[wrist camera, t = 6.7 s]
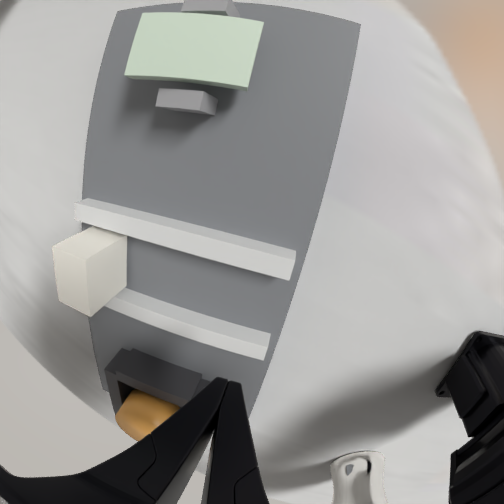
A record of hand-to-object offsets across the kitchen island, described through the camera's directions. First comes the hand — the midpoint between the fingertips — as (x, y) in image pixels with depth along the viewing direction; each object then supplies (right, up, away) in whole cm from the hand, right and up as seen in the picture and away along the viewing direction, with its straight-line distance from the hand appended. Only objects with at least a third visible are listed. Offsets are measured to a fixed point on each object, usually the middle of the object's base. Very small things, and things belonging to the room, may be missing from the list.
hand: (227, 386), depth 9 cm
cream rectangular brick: (-7, +4, +6) cm, 11 cm away
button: (-6, -7, +9) cm, 12 cm away
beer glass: (+12, -18, +14) cm, 26 cm away
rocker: (-2, +13, +1) cm, 13 cm away
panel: (-3, +4, +8) cm, 10 cm away
